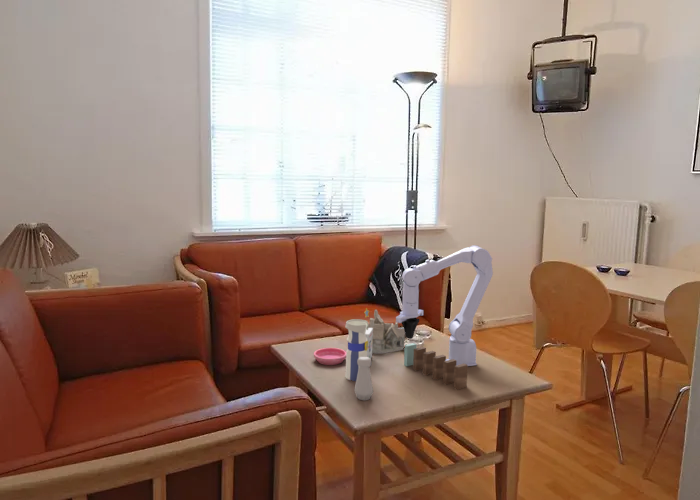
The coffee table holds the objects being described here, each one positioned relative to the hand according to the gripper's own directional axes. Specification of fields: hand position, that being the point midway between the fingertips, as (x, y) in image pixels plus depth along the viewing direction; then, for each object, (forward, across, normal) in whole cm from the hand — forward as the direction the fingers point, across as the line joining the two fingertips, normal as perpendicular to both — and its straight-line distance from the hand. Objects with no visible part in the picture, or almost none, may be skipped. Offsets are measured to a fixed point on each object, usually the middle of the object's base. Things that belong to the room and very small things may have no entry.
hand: (409, 337), depth 195 cm
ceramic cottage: (+10, -9, -18) cm, 22 cm away
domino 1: (+10, 0, +1) cm, 10 cm away
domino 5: (+10, +5, +20) cm, 23 cm away
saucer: (+10, +17, -24) cm, 31 cm away
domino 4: (+10, +4, +15) cm, 19 cm away
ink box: (+10, +8, -14) cm, 20 cm away
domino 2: (+10, +1, +6) cm, 12 cm away
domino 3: (+10, +2, +10) cm, 15 cm away
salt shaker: (+10, +34, +7) cm, 36 cm away
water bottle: (+10, +22, -6) cm, 25 cm away
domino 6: (+10, +6, +25) cm, 28 cm away
